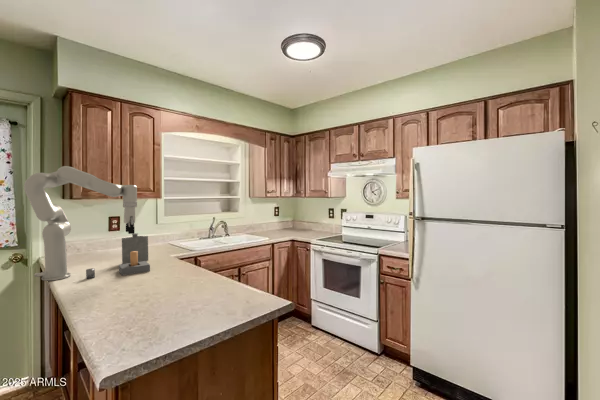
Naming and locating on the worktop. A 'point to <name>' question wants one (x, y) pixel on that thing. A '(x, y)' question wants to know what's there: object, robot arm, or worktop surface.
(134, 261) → the long pin
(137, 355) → the worktop surface
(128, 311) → the worktop surface
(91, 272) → the short pin
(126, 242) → the hip flask
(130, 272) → the hole block
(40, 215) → the robot arm
